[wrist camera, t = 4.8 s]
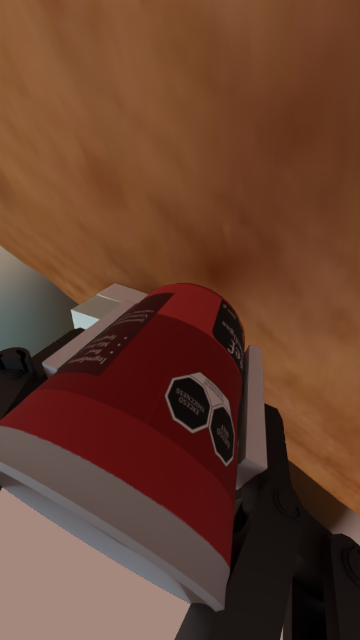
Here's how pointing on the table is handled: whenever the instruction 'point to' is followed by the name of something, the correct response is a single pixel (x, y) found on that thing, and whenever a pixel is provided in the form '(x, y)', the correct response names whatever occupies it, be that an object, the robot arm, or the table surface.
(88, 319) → the tower top
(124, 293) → the tower base
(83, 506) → the canned food
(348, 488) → the table surface
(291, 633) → the robot arm
